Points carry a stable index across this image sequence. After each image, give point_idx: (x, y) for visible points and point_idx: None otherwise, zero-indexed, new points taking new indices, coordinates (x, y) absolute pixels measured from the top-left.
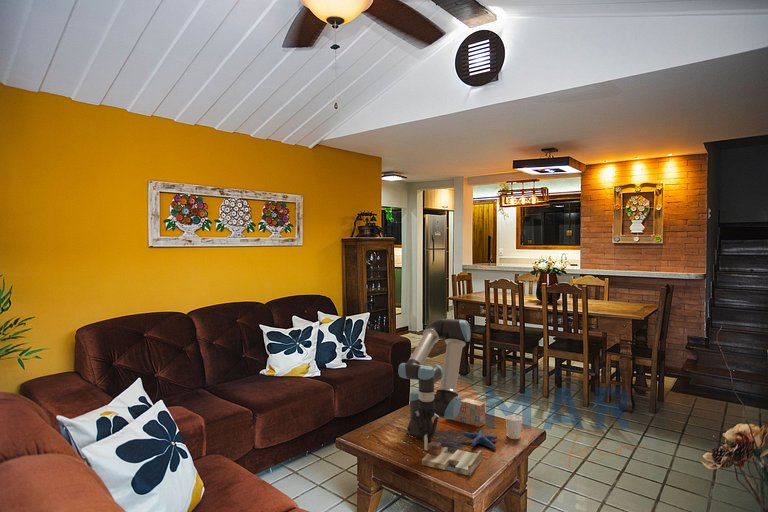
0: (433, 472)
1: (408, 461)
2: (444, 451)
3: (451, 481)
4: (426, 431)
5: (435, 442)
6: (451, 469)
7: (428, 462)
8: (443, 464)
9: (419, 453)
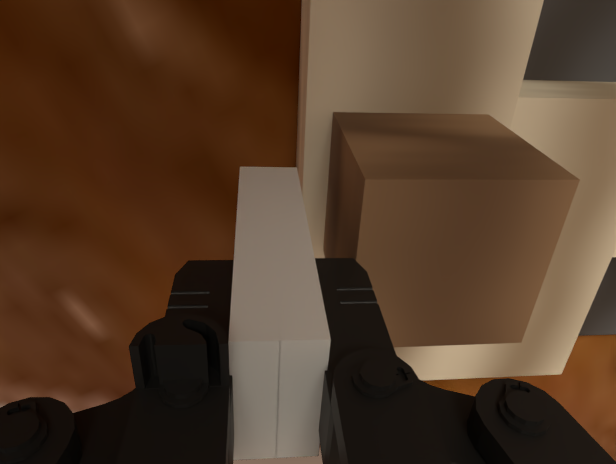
0: None
1: (122, 343)
2: (528, 33)
3: (596, 439)
4: (227, 431)
5: (449, 212)
6: (602, 315)
7: None
8: (547, 372)
9: (111, 105)
